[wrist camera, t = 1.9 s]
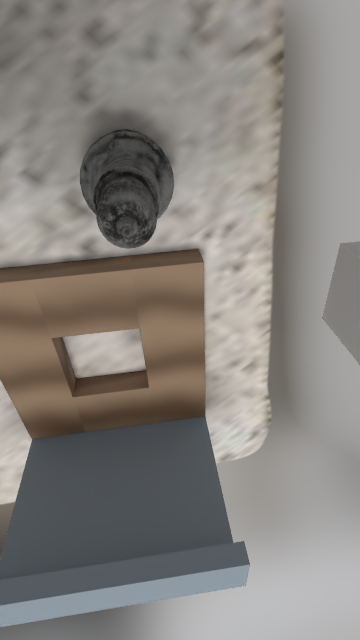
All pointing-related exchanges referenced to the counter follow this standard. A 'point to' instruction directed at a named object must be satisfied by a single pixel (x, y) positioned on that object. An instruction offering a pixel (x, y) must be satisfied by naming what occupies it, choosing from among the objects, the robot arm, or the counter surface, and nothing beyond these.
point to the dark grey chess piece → (126, 186)
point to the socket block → (95, 317)
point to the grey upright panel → (117, 523)
